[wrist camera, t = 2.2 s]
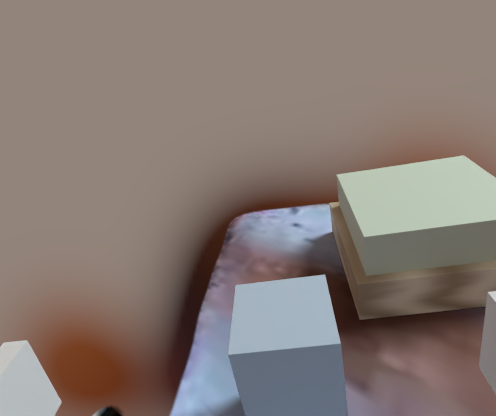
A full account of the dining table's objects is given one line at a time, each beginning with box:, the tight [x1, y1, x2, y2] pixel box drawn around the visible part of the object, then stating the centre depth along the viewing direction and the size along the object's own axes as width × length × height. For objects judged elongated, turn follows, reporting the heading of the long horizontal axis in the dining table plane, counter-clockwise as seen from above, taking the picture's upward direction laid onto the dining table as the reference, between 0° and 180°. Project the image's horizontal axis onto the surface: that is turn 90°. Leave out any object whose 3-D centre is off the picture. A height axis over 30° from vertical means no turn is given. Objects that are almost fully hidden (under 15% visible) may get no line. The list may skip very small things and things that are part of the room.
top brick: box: [337, 156, 496, 276], centre depth 39 cm, size 14×14×4 cm
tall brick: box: [228, 275, 348, 416], centre depth 25 cm, size 6×6×10 cm
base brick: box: [330, 202, 496, 320], centre depth 40 cm, size 16×16×4 cm
